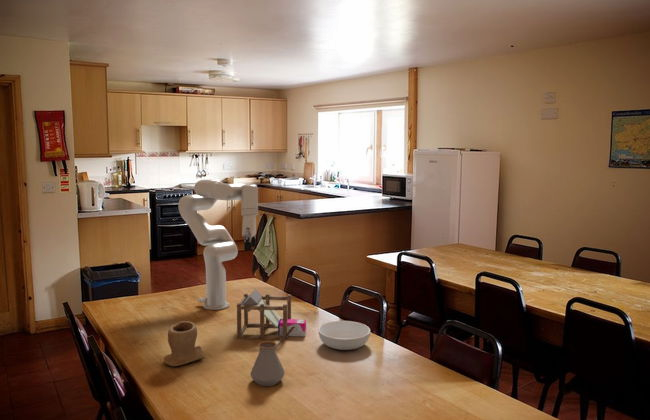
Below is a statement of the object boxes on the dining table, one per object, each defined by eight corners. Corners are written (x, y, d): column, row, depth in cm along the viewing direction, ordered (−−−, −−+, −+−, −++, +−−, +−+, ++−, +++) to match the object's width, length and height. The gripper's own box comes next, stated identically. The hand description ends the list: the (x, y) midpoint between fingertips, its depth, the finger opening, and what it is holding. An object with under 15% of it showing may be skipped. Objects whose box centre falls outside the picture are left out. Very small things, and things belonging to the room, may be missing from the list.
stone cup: (173, 372, 187) (172, 331, 185) (159, 361, 196) (158, 322, 194) (212, 361, 196) (211, 322, 194) (197, 352, 205) (196, 314, 203)
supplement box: (279, 331, 229) (306, 332, 228) (277, 336, 223) (305, 337, 222) (280, 318, 228) (306, 319, 227) (278, 322, 222) (305, 323, 221)
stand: (237, 338, 220) (236, 304, 218) (244, 325, 236) (244, 293, 234) (286, 339, 219) (286, 305, 217) (291, 326, 235) (291, 294, 233)
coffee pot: (270, 391, 172) (269, 347, 171) (243, 383, 179) (242, 340, 177) (307, 369, 190) (308, 328, 188) (282, 361, 196) (282, 322, 194)
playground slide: (241, 305, 220) (250, 296, 219) (247, 297, 233) (255, 288, 232) (270, 333, 221) (279, 324, 220) (275, 323, 233) (283, 315, 233)
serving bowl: (309, 351, 207) (309, 334, 206) (329, 333, 226) (329, 318, 226) (360, 359, 199) (360, 341, 199) (376, 340, 219) (376, 324, 218)
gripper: (245, 209, 251) (245, 245, 253) (237, 214, 234) (238, 252, 236) (261, 209, 250) (261, 245, 252) (254, 214, 233) (254, 252, 235)
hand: (250, 248), depth 244 cm, fingers open, 9 cm apart
